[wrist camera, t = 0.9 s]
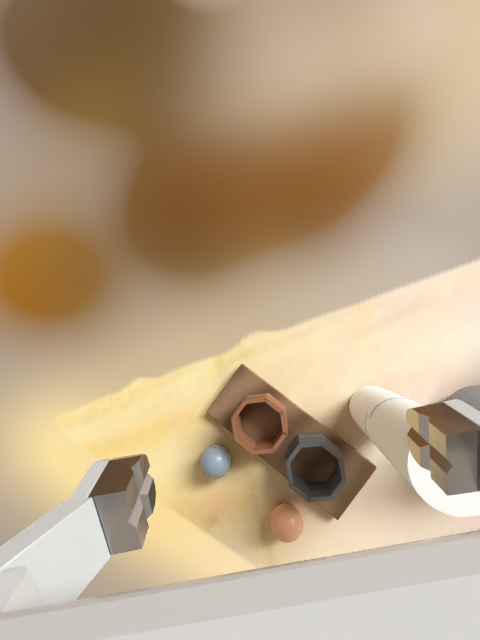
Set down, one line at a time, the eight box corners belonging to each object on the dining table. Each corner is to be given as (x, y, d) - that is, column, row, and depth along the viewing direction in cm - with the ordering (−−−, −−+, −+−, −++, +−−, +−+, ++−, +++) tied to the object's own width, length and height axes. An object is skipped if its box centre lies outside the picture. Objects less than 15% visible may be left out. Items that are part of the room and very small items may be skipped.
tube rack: (373, 464, 47) (386, 482, 41) (336, 514, 48) (343, 540, 41) (242, 364, 52) (236, 365, 46) (209, 410, 53) (197, 418, 46)
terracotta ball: (308, 511, 48) (310, 530, 43) (290, 536, 48) (289, 557, 44) (282, 490, 49) (281, 506, 44) (264, 514, 49) (261, 533, 44)
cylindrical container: (405, 402, 48) (527, 458, 23) (380, 440, 48) (475, 537, 23) (364, 376, 49) (438, 404, 24) (340, 413, 49) (389, 477, 24)
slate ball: (239, 453, 51) (233, 465, 46) (222, 477, 51) (214, 491, 46) (216, 434, 52) (208, 443, 47) (199, 457, 52) (189, 469, 47)
